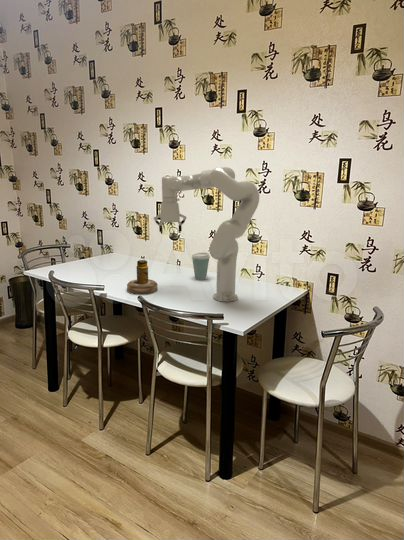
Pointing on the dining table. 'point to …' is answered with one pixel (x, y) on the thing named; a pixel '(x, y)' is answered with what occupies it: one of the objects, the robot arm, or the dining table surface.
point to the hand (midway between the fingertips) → (170, 232)
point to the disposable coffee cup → (200, 265)
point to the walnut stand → (142, 287)
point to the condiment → (141, 273)
